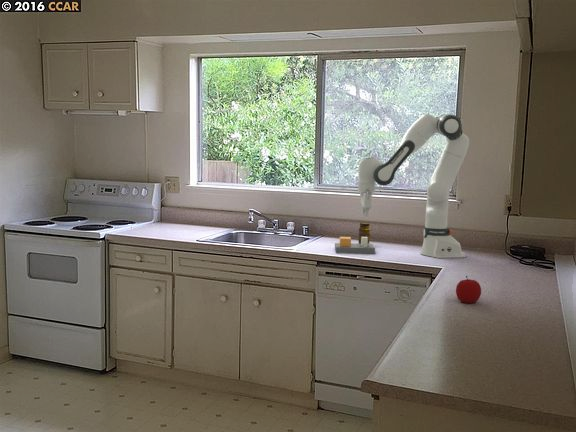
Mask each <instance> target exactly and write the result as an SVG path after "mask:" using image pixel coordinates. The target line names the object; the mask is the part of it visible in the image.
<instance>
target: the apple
mask: <svg viewBox="0 0 576 432" xmlns="http://www.w3.org/2000/svg"><path fill="white" fill-rule="evenodd" d="M465 277H466V279H461V280H460V281H459V282H458V283H457V285H456V287H455V294H456V297H457V298H458V301H460V302H461V303H464V304H465V303H466V304H473V303H477V302H478V301H479V300H480V298H481V295H482V288H481V284H480V283H479V282H478V281H477V280H475V279H469V278H468V275H465Z"/></svg>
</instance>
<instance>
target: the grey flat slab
mask: <svg viewBox="0 0 576 432" xmlns="http://www.w3.org/2000/svg"><path fill="white" fill-rule="evenodd" d="M334 251H335V253H336V254H356V255H357V254H359V255H360V254H361V255H376V247H375V245H374V244H373V243H369V244H368V245H367V246H361V244H358V243H356V242H354V243H352V242H351V246H340V244H339V242H334Z"/></svg>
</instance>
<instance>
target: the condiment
mask: <svg viewBox="0 0 576 432" xmlns="http://www.w3.org/2000/svg"><path fill="white" fill-rule="evenodd" d="M370 235H371V228H370V223H369V222H360V223H359V227H358V243H357V244H361V237H368V244H370V239H371V238H370Z"/></svg>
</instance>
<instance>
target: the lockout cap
mask: <svg viewBox="0 0 576 432" xmlns="http://www.w3.org/2000/svg"><path fill="white" fill-rule="evenodd" d="M338 243H339V244H340V246H351V243H352V237H351V236H339V242H338Z"/></svg>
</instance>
